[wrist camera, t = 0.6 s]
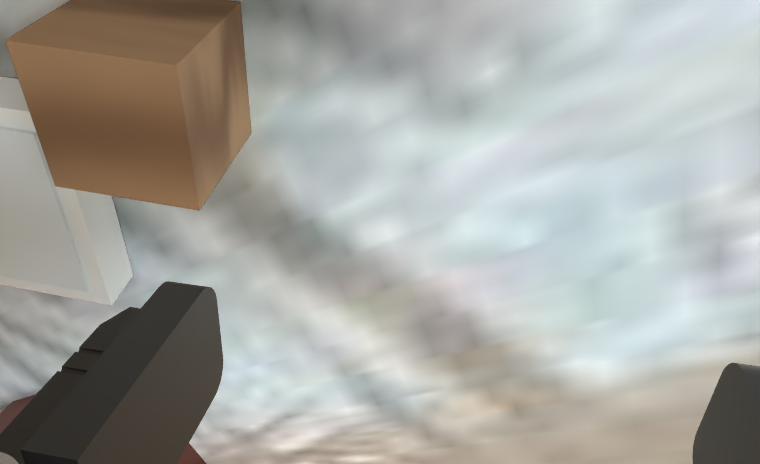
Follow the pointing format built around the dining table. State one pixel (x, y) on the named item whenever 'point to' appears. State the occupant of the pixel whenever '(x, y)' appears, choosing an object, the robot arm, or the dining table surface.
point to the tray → (52, 219)
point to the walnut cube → (137, 95)
